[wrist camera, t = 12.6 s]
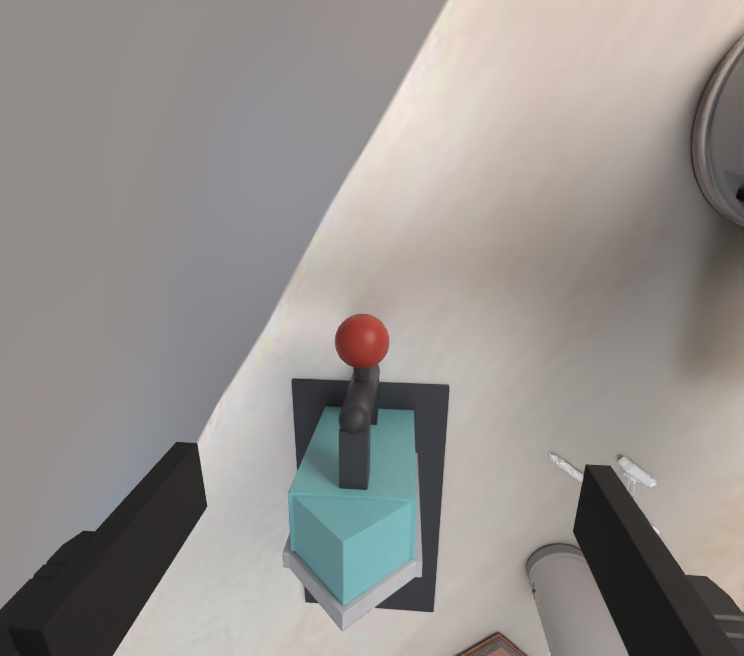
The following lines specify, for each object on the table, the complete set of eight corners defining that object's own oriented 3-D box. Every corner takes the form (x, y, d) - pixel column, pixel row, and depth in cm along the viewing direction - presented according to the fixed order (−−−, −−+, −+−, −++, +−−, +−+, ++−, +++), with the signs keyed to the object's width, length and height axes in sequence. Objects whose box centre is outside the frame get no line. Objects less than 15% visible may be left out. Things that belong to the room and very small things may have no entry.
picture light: (544, 454, 39) (552, 469, 37) (579, 422, 38) (589, 435, 36) (653, 533, 41) (666, 551, 39) (691, 505, 40) (706, 522, 38)
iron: (424, 638, 23) (438, 366, 19) (262, 625, 24) (244, 359, 20) (417, 464, 40) (424, 297, 36) (321, 459, 40) (318, 295, 36)
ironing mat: (449, 384, 38) (449, 386, 37) (433, 609, 46) (433, 612, 46) (292, 378, 39) (291, 380, 38) (306, 599, 47) (305, 602, 47)
